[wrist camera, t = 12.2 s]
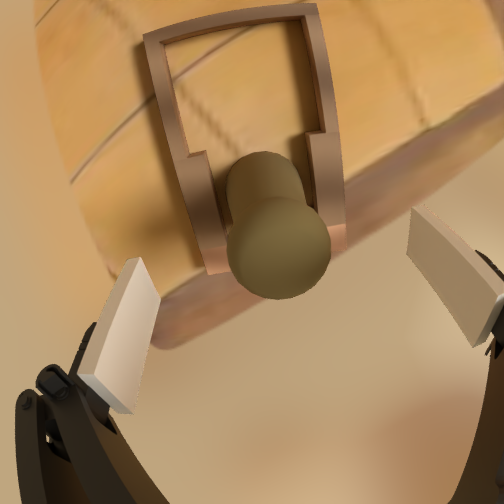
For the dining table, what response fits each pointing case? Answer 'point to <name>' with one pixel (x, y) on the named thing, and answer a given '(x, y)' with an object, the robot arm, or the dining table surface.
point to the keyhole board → (196, 164)
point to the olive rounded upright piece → (273, 229)
